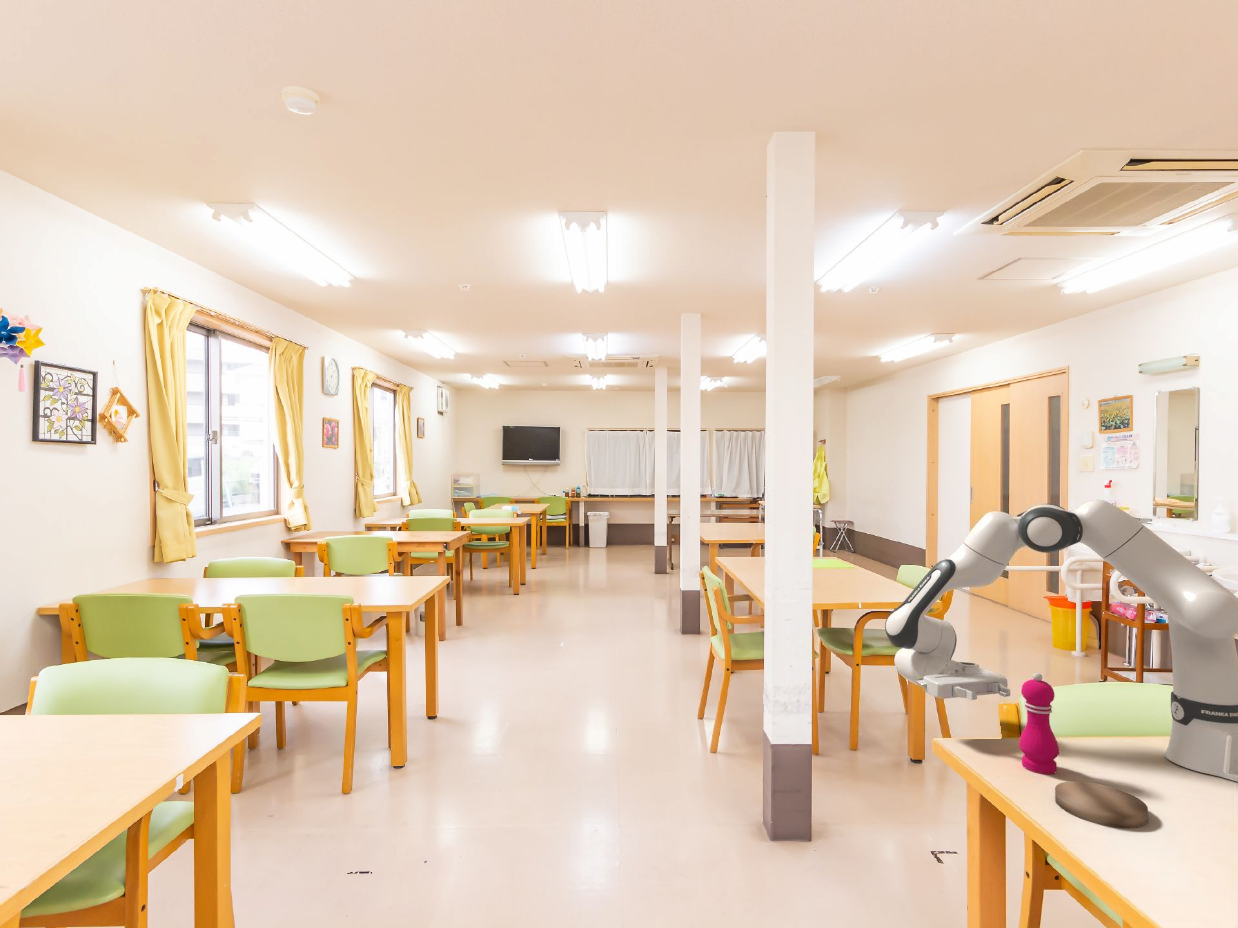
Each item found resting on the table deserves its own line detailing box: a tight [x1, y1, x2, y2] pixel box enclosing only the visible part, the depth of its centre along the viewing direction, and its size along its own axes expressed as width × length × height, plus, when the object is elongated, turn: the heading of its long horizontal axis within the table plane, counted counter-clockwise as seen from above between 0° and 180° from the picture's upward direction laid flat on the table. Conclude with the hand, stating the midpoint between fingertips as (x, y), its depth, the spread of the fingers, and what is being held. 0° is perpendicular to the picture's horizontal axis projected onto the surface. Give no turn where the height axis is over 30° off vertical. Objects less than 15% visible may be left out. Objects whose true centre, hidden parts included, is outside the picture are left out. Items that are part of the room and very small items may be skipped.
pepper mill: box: [1018, 672, 1060, 775], centre depth 144 cm, size 7×7×20 cm
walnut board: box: [1054, 780, 1149, 829], centre depth 125 cm, size 14×14×2 cm
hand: (991, 694), depth 156 cm, fingers open, 8 cm apart
